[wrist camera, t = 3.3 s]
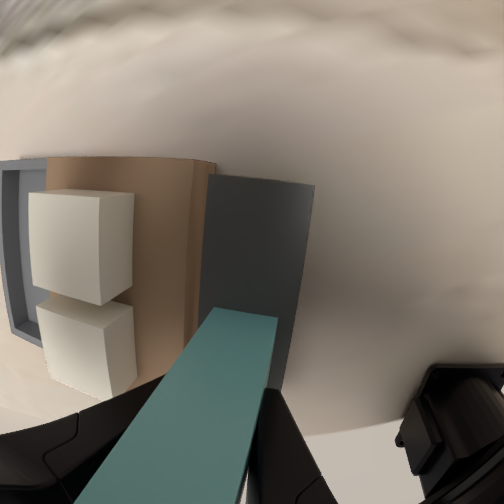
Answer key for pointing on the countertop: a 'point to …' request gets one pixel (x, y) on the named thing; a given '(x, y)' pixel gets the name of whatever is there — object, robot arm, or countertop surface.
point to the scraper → (219, 354)
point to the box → (20, 245)
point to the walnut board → (153, 245)
